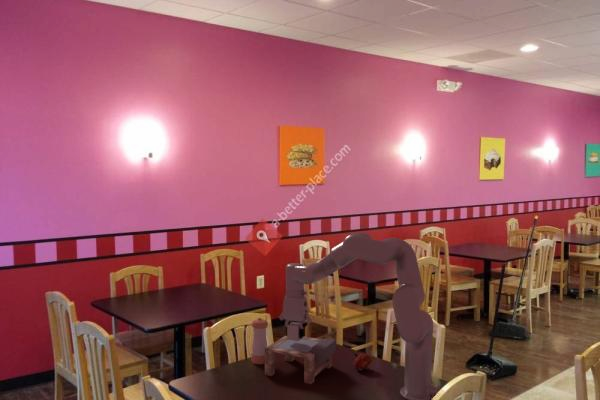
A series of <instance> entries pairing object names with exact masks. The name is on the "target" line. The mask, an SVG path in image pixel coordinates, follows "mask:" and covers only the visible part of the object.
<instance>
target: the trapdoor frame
mask: <svg viewBox="0 0 600 400" xmlns="http://www.w3.org/2000/svg"><path fill="white" fill-rule="evenodd" d="M302 339H305V340H311V341H318V342H320V341H322V340H323V339H324V338H316V337H309V336H304V337H303V338H302ZM285 341H287V336H286V335H283V337H281V338H279V339H278V340H275V342H273V343H271V344H269V345H267V347H266V348H265V364H264V376H269V377H272V376H274V375H275V374H276V373H275V372H276V363H275V360H276V353H277V354H281V355H284V360H285V361H284V362H290V363H291V362H293V361H294V360H295V357H297V358H298V357H299V358H303V359H304V362H303V363H304V364H303V367H304V371H303V372H304V373H303V376H304V377H303V379H304V383H305V384H309V385H312V384H313V383H314V382H315V377H316V376H317V375H319V374H320V373H321V372H322V371H323V370H325V369H331V367H332V366H333V354H332V355H331V356H330V357H329V358H327V359H326V360H325V361H324V362H320V361H318V363H316V364H315V361H314V358H315V354H312V352H310V353H306V352H300V351H294V350H288V349H282V348H276V347H277V346H279V345H280V344H282V343H283V342H285ZM304 383H303V384H304Z"/></svg>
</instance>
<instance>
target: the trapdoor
mask: <svg viewBox="0 0 600 400" xmlns="http://www.w3.org/2000/svg"><path fill="white" fill-rule="evenodd" d="M322 339H323V340H322V341H320V342H318V341H311V340H305V339H301V340H299V341H293V340H287V341H285V342H283V343H282V344H280V345H279V346H277V347H276V348H282V349H288V350H294V351H300V352H306V353H312V354H315V358H314V362H324V361H325V360H326V359H327V358H329V357H330V356H331V355H332V356H333V355H334V354H335V353H336V351H337V350H336V346H337V344H336V343H337V341H336V339H332V338H326V337H325V338H322Z"/></svg>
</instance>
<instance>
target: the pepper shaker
mask: <svg viewBox="0 0 600 400" xmlns="http://www.w3.org/2000/svg"><path fill="white" fill-rule="evenodd" d="M268 324H269V323H268V321H267V320H266V319H264V318H262V317H258V318H256V319H254V320H253V321H252V322H251V326H252V328H253V333H252V334H253V336H252V337H253V338H252V344H251V351H252V352H251V354H250V355H251V356H250V357H251V359H250V360H251V363H252V364H255V365H263V364H264V365H265V348H266V347H268V341H267V327H268V326H269V325H268Z"/></svg>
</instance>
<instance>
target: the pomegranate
mask: <svg viewBox="0 0 600 400" xmlns="http://www.w3.org/2000/svg"><path fill="white" fill-rule="evenodd" d="M353 356H355V359H354V361H353V365H354V368H355V369H356V370H357V371H359V372H363V371H364V370H365V369H366V368H367V369H368V370H369V372H372V370H371V369H370V368H369V367H368V366H369V365H370V364H371V362H372V361H373V359H372V357H371V356H370V355H369V354H367V353H365V352H363V353H359V354H356V353H354V354H353Z"/></svg>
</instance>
